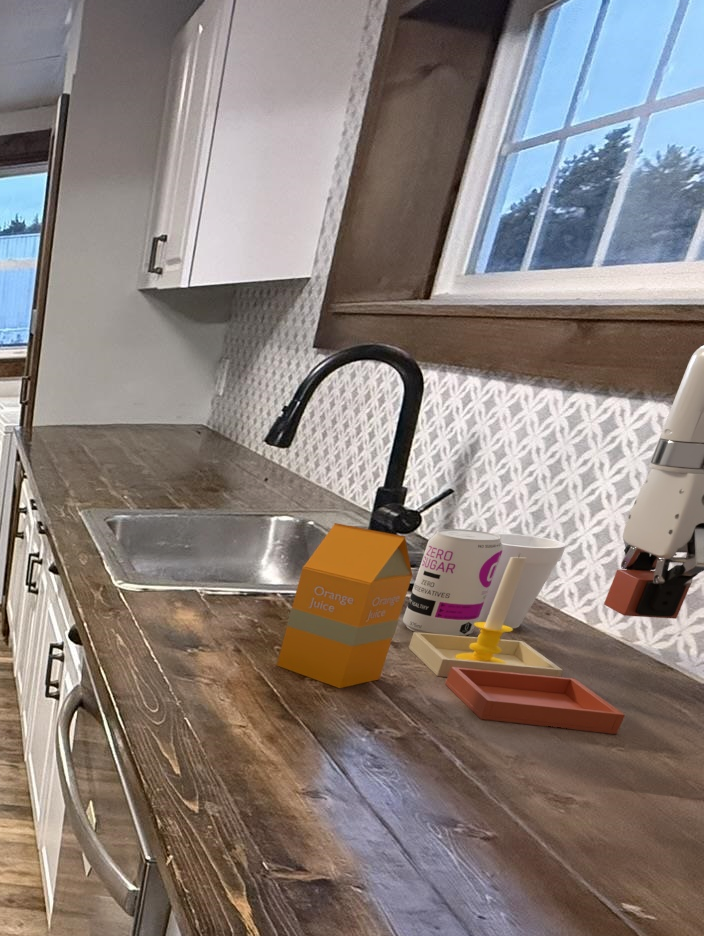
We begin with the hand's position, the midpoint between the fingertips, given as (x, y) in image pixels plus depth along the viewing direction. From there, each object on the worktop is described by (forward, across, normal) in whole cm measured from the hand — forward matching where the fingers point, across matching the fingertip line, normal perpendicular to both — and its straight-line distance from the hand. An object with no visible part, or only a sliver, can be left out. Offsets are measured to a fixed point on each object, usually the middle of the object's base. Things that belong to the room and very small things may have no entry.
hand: (640, 606), depth 101 cm
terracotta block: (+1, 0, 0) cm, 1 cm away
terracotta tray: (+11, -9, +11) cm, 18 cm away
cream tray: (+11, +5, +11) cm, 17 cm away
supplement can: (+11, +20, +11) cm, 26 cm away
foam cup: (+12, +27, +2) cm, 30 cm away
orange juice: (+11, -4, +30) cm, 32 cm away
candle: (+11, +5, +11) cm, 16 cm away
